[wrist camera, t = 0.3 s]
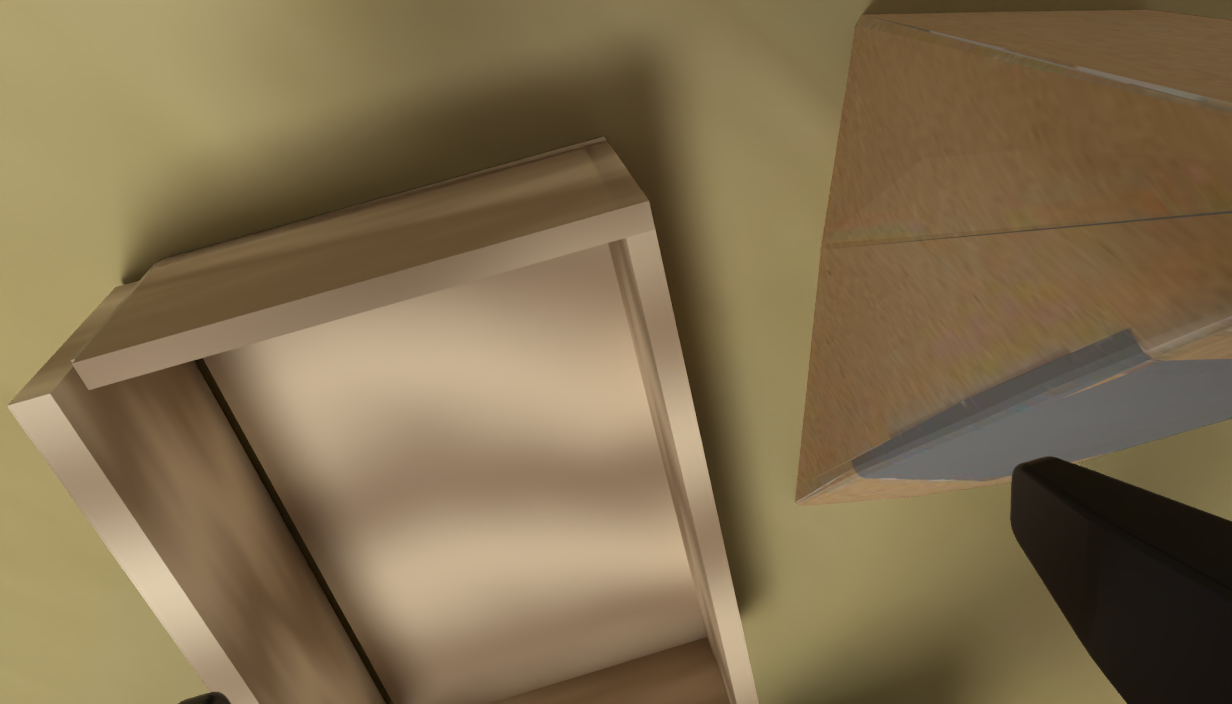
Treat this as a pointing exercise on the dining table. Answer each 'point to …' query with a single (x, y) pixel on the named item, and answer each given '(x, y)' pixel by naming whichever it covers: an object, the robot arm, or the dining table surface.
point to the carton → (473, 430)
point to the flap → (192, 527)
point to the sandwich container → (1020, 248)
